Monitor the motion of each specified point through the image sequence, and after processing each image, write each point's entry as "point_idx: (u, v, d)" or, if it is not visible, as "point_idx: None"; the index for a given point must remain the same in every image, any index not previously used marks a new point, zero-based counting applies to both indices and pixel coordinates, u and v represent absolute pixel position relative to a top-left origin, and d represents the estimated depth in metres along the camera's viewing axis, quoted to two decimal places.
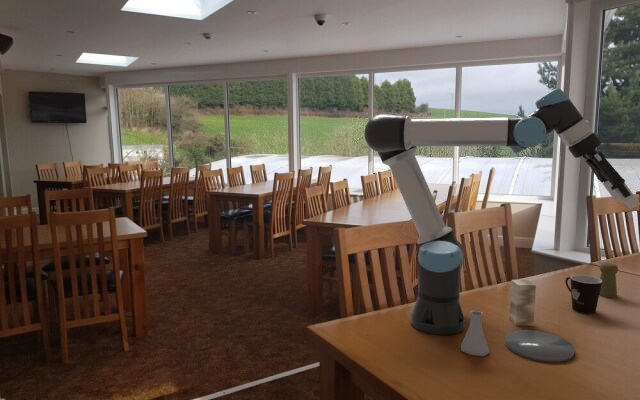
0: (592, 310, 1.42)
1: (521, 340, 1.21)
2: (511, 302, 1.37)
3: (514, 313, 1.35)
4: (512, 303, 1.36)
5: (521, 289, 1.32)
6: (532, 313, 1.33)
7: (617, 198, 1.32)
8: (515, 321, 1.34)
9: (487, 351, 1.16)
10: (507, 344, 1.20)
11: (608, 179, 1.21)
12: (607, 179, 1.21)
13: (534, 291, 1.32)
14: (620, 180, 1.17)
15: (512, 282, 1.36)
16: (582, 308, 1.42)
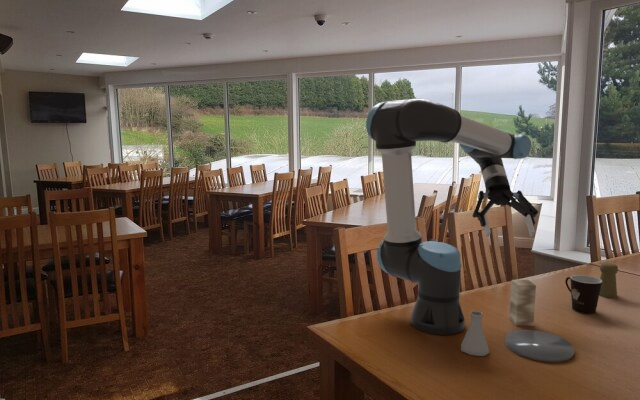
0: (592, 310, 1.42)
1: (521, 340, 1.21)
2: (511, 302, 1.37)
3: (514, 313, 1.35)
4: (512, 303, 1.36)
5: (521, 289, 1.32)
6: (532, 313, 1.33)
7: None
8: (515, 321, 1.34)
9: (487, 351, 1.16)
10: (507, 344, 1.20)
11: (526, 208, 1.49)
12: (523, 208, 1.49)
13: (534, 291, 1.32)
14: None
15: (512, 282, 1.36)
16: (582, 308, 1.42)
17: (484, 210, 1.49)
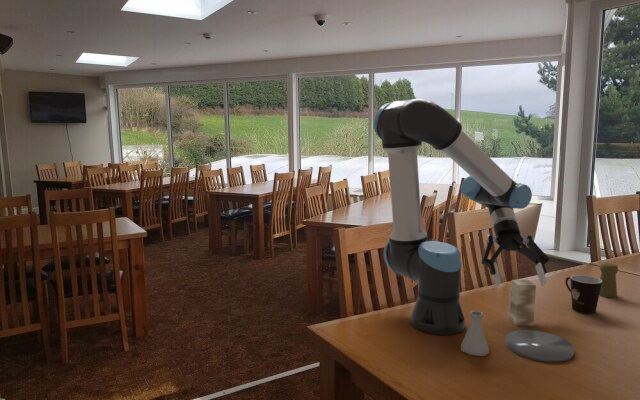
0: (592, 310, 1.42)
1: (521, 340, 1.21)
2: (511, 302, 1.37)
3: (514, 313, 1.35)
4: (512, 303, 1.36)
5: (521, 289, 1.32)
6: (532, 313, 1.33)
7: None
8: (515, 321, 1.34)
9: (487, 351, 1.16)
10: (507, 344, 1.20)
11: (536, 255, 1.44)
12: (534, 255, 1.44)
13: (534, 291, 1.32)
14: None
15: (512, 282, 1.36)
16: (582, 308, 1.42)
17: (494, 257, 1.44)
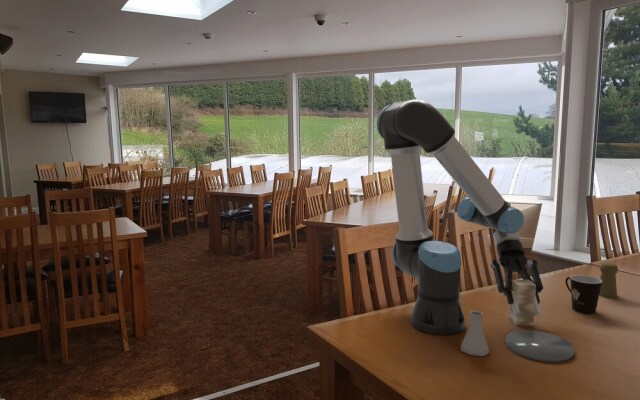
0: (592, 310, 1.42)
1: (521, 340, 1.21)
2: None
3: None
4: None
5: (521, 289, 1.32)
6: (532, 313, 1.33)
7: None
8: (515, 321, 1.34)
9: (487, 351, 1.16)
10: (507, 344, 1.20)
11: (533, 282, 1.37)
12: None
13: (534, 291, 1.32)
14: None
15: (512, 282, 1.36)
16: (582, 308, 1.42)
17: (509, 284, 1.36)
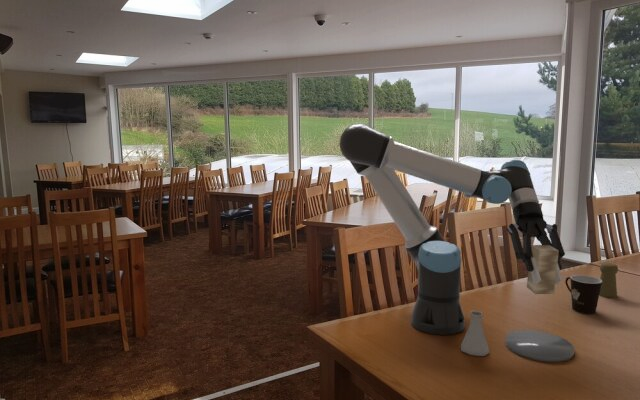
0: (592, 310, 1.42)
1: (521, 340, 1.21)
2: None
3: None
4: None
5: (543, 255, 1.21)
6: (553, 281, 1.22)
7: None
8: (534, 289, 1.23)
9: (487, 351, 1.16)
10: (507, 344, 1.20)
11: None
12: None
13: (556, 257, 1.21)
14: None
15: (532, 247, 1.25)
16: (582, 308, 1.42)
17: (528, 250, 1.25)
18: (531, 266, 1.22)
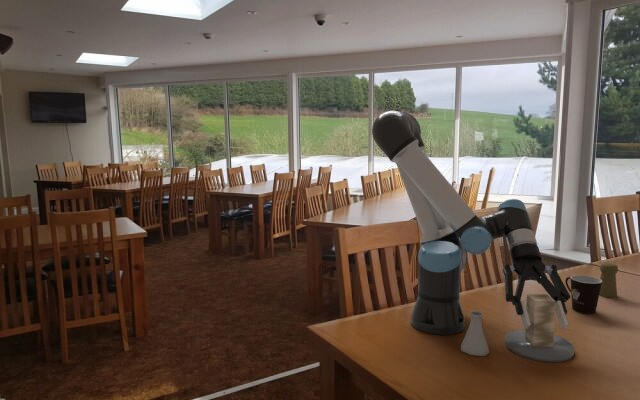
0: (592, 310, 1.42)
1: (521, 340, 1.21)
2: None
3: (530, 333, 1.19)
4: None
5: (539, 305, 1.16)
6: (551, 333, 1.17)
7: None
8: (532, 341, 1.18)
9: (487, 351, 1.16)
10: (507, 344, 1.20)
11: (557, 290, 1.20)
12: (554, 289, 1.20)
13: (554, 308, 1.16)
14: None
15: (528, 297, 1.20)
16: (582, 308, 1.42)
17: (519, 293, 1.20)
18: (521, 310, 1.18)
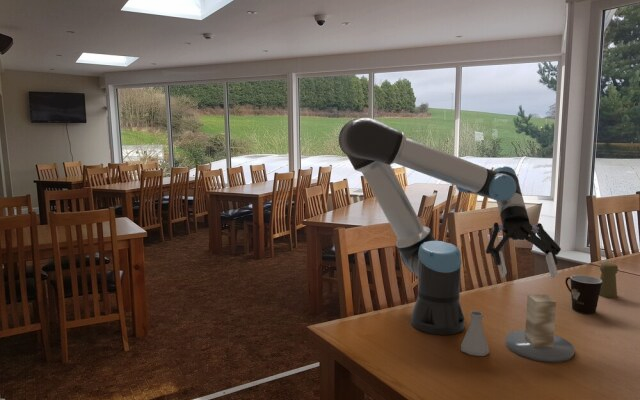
0: (592, 310, 1.42)
1: (521, 340, 1.21)
2: (528, 320, 1.20)
3: (530, 333, 1.19)
4: (528, 322, 1.20)
5: (539, 306, 1.16)
6: (552, 333, 1.17)
7: None
8: (532, 342, 1.18)
9: (487, 351, 1.16)
10: (507, 344, 1.20)
11: (547, 244, 1.31)
12: (544, 244, 1.31)
13: (554, 308, 1.16)
14: None
15: (528, 297, 1.20)
16: (582, 308, 1.42)
17: (499, 246, 1.31)
18: (498, 260, 1.29)
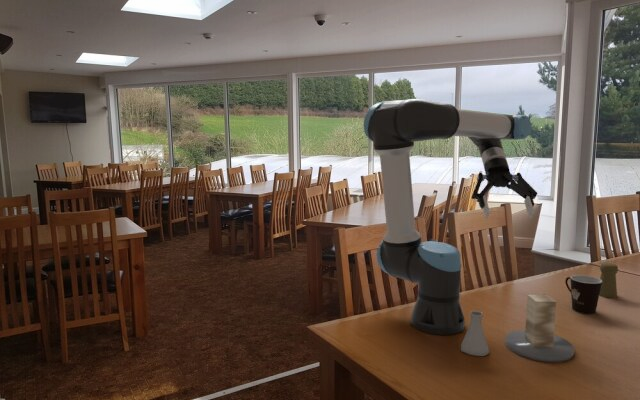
0: (592, 310, 1.42)
1: (521, 340, 1.21)
2: (527, 320, 1.20)
3: (530, 333, 1.19)
4: (528, 322, 1.20)
5: (539, 306, 1.16)
6: (552, 333, 1.17)
7: None
8: (532, 342, 1.18)
9: (487, 351, 1.16)
10: (507, 344, 1.20)
11: (525, 189, 1.48)
12: (522, 189, 1.48)
13: (554, 308, 1.16)
14: None
15: (528, 297, 1.20)
16: (582, 308, 1.42)
17: (483, 191, 1.48)
18: (482, 203, 1.46)
